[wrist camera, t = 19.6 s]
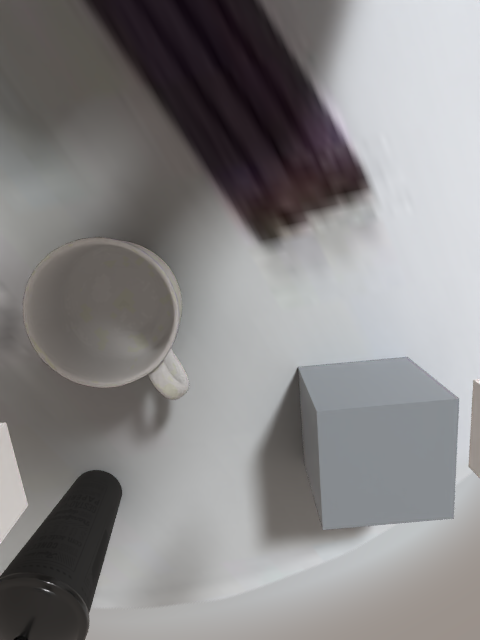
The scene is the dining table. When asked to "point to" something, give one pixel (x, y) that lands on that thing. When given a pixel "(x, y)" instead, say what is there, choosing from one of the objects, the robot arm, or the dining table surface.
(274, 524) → the dining table surface
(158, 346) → the teacup
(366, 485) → the grey matte cube
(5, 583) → the drinking cup
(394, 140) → the dining table surface
